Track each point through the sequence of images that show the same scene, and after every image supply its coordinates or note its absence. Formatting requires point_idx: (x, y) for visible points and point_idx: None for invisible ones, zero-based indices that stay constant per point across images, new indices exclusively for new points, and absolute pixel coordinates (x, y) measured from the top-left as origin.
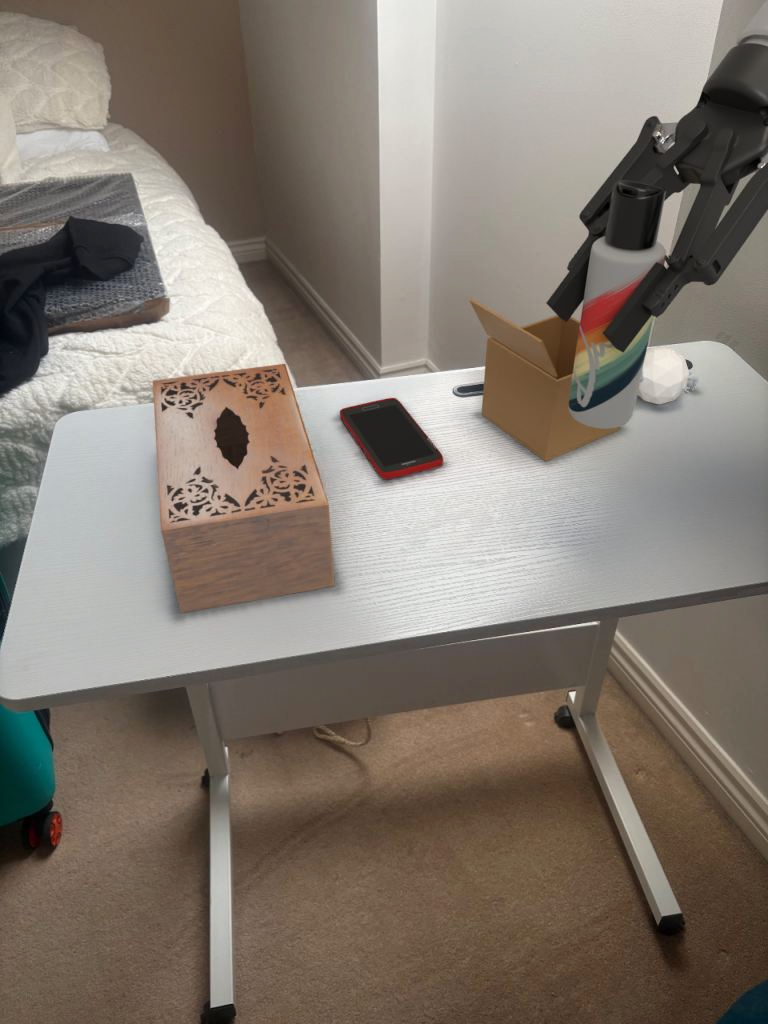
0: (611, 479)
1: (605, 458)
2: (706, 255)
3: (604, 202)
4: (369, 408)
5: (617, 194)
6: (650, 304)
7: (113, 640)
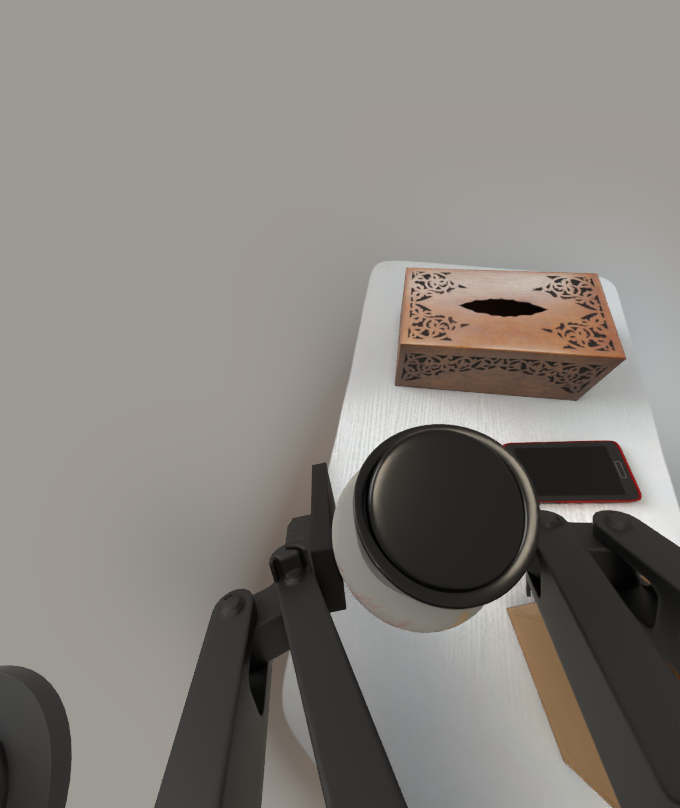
0: (460, 665)
1: (501, 687)
2: (224, 622)
3: (645, 571)
4: (618, 467)
5: (430, 425)
6: (297, 520)
7: (392, 292)
